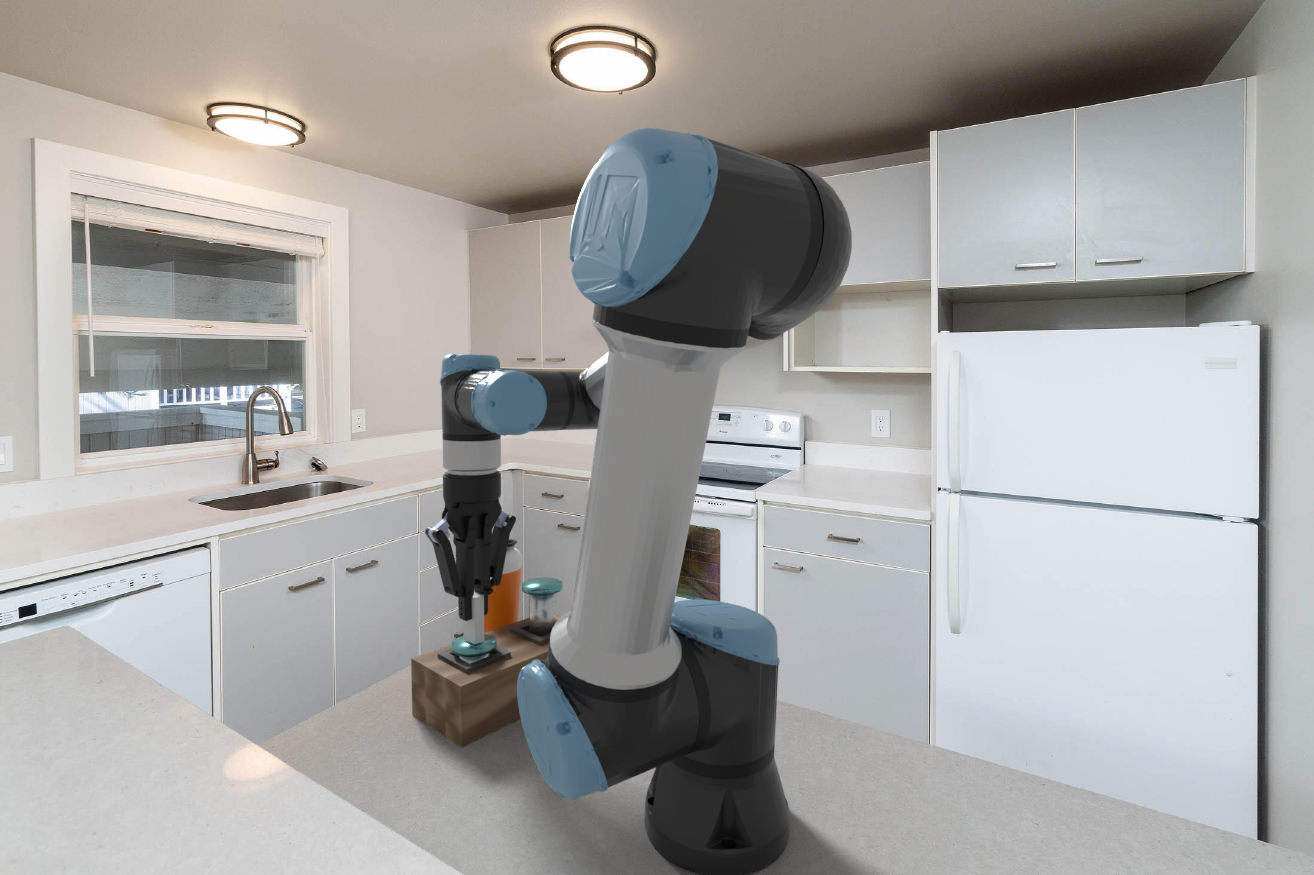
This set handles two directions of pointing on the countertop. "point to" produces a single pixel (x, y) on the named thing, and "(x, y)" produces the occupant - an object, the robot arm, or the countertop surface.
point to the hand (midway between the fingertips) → (473, 639)
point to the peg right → (542, 603)
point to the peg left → (473, 648)
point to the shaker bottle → (505, 592)
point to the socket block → (474, 684)
